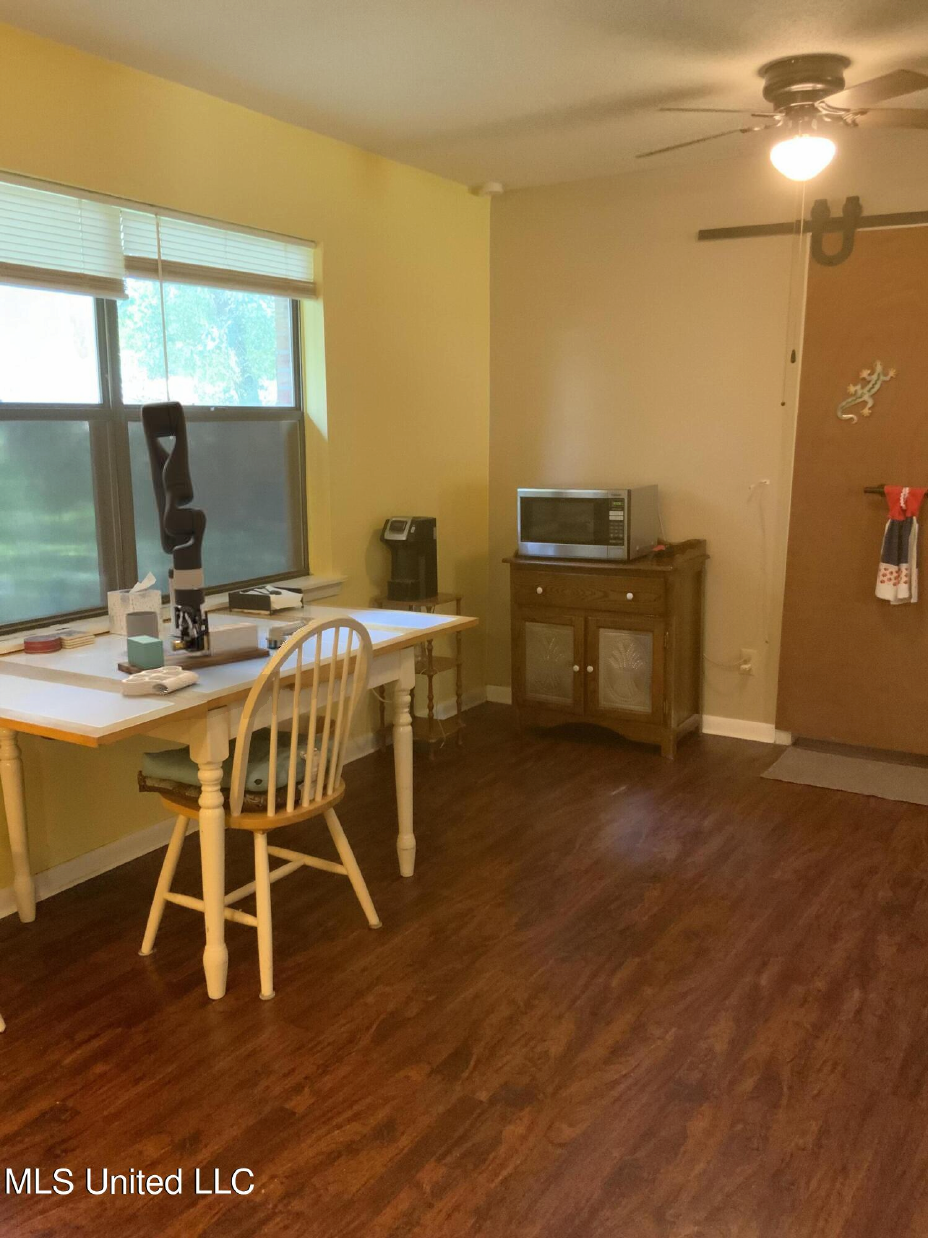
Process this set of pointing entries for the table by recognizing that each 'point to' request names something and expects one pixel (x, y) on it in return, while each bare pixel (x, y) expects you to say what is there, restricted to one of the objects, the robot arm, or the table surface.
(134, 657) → the teal rectangular block
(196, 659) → the base board
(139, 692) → the knuckle duster
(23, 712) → the table surface
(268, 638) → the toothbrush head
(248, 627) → the sleeve
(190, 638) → the plug
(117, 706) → the table surface
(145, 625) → the cup
